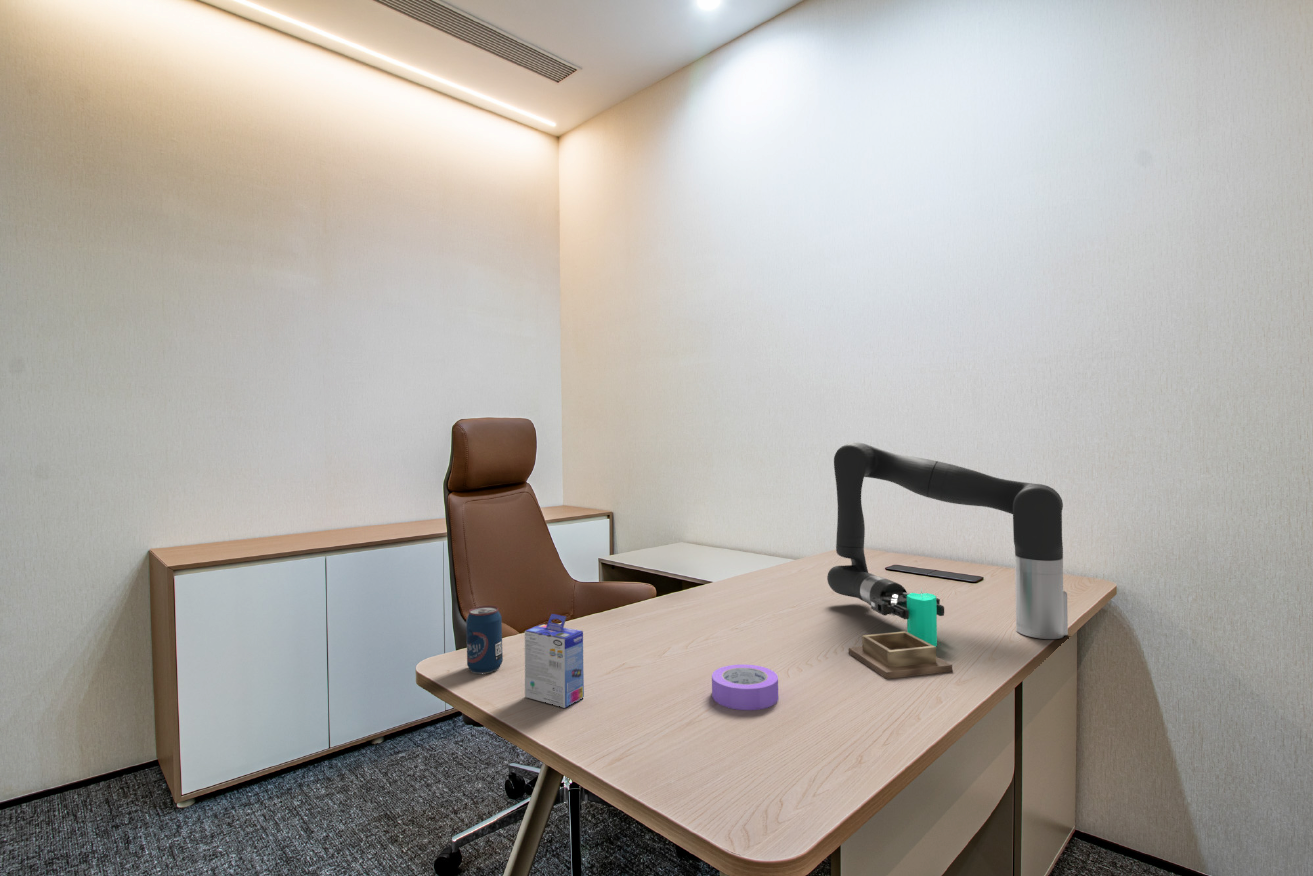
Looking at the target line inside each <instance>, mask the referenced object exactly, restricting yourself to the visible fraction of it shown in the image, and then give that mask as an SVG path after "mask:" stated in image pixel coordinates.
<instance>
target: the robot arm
mask: <svg viewBox="0 0 1313 876" xmlns="http://www.w3.org/2000/svg"><path fill="white" fill-rule="evenodd" d="M833 467H834V468H833V469H834V476H835V485H836V486H835V487H836V500H837V524H836V525H837V526H836V541H835V543H836V544H835V550H836V551H835V552H836V554H837V555H838V556H840V557H842V558H844V559H850V563H851V564H850V565H847V564H846V565H845V564H844V565H835V566H832V567H831V568H830V569H829V571H828V573H827V576H826V578H827V583H828V586H829V587H830V589H831V590H832V591H833V592H835V593H836V594H838V595H842V596H845V597H851V598H857V599H859V600H861V601H862V602H864V603H866V604H867V605H869V606H870V609H871V610H873V611H875V612H876V613H878V614H879V615H882V616H884V617H885V616H893V617H894V616H897V617H898V618H901V619H903V620H907V619H909V611H908V609H907V595H908V594H910V593H911V592H908V591H907V590H906V588H905V587H904V586H903V585H901V584H900V583H898V582H895V581H893V580H891V579H888V578H885V577H883V576H880V575H879V576H877V575H875V574H872V573H870V572H869V570H868V565H867V561H866V556H865V555H866V554H865V550H864V549H865V531H866V529H865V528H866V526H865V518H864V512H863V505H862V491H863V490H862V489H863V483H864V480H865V478H870V479H877V480H881V481H886V482H890V483H894V484H896V485H898V486H900V487H901V488H904V489H906V490H908V491H910V492H912V493H914V494H916V495H920V496H922V497H925V498H927V499H933V500H935V501H940V502H943V503H944V502H945V503H948V504H954V505H955V504H956V505H962V506H972V507H984V508H990V509H995V510H997V511H1001V512H1005V513H1007V514H1010V515H1012V530H1013V544H1014V554H1015V555H1014V568H1015V569H1014V570H1015V571H1014V577H1015V580H1014V581H1015V626H1016V627H1015V628H1016V629H1015V630H1016V632H1018V633H1019V634H1020V635H1023V636H1026V637H1029V638H1030V637H1031V638H1036V639H1040V640H1041V639H1043V640H1044V639H1045V640H1057V639H1058V640H1059V639H1062V638H1064V636H1068V634H1069V629H1068V628H1069V627H1068V626H1069V625H1068V621H1069V620H1068V616H1069V615H1068V593H1067V591H1065V590H1064V546H1063V515H1062V514H1063V507H1064V503H1063V499H1062V497H1061V495H1060V494H1059V493H1058V491H1056V490H1055V489H1054V488H1053V487H1050V486H1049V485H1045V484H1042V483H1032V482H1023V481H1016V480H1009V479H1004V478H999V477H995V476H992V475H988V474H986V473H984V472H983V473H982V472H980V471H976V470H973V469H969V468H966V467H964V466H963V467H962V466H958V465H955V464H952V463H947V462H943V461H938V460H933V459H929V458H927V459H926V458H923V457H915V456H908V455H901V454H896V453H893V452H890V451H887V450H884V449H880V448H877V447H875V446H872V445H869V444H866V443H863V442H852V443H847V444H845V445H842V446H840V447H839V448H838V449H837V450H836V451H835V454H834V456H833ZM923 593H924V592H922V594H923ZM919 594H921V592H920V593H919ZM940 602H941V599H940V598H938V597H936V604H937V616H939V617H944V616H945V606H944V605H942V604H941V603H940Z"/></svg>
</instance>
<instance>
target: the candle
mask: <svg viewBox="0 0 1313 876" xmlns="http://www.w3.org/2000/svg"><path fill="white" fill-rule="evenodd" d="M909 593H910V594H908V595H907V609H908V611H909V619H906V626H907V627H906V629H907V631H906V632H908V633H910V634H912V635H914V636H916V637H918V638H919V639H921V640H923V641H925V642H927V643H929V644H931V645H933V646H935V647H936V646H938V618H937V617H938V615H937V604H936V598H937V596H936V595H935V594H933V593H927V592H923V589H922V588H920V593H921V594H920V593H917V592H909ZM922 593H923V594H922ZM936 648H937V647H936Z"/></svg>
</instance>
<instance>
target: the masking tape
mask: <svg viewBox="0 0 1313 876" xmlns="http://www.w3.org/2000/svg"><path fill="white" fill-rule="evenodd" d="M711 695H712V696H711V697H712V699H713V700H714V702H716V703H717V704H718V705H720V706H723V707H725V708H728V709H732V710H738V711H757V710H764V709H767V708H770V707H772V706H774V705H775V704H776V703H777V702H778V700H779V676H778V674H777V673H776V672H775V671H774V670H772V669H771V668H767V667H764V666H761V665H755V664H742V663H741V664H732V665H731V664H730V665H726V666H721V667H719V668H717V669H716V670H714V671H713V672H712V673H711Z"/></svg>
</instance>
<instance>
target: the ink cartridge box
mask: <svg viewBox="0 0 1313 876" xmlns="http://www.w3.org/2000/svg"><path fill="white" fill-rule="evenodd" d="M566 619H567V616H564V615H560V614H554V613H551V615H550V616H549V619H548V621H547V624H538V625H536V626H533V627H531V628H528V629H527V630H525V631H524V697H525V698H527V699H530V700H535V701H538V702H541V703H545V702H546V704H550V705H552V704H553V706H557V707H559V706H560V707H559V708H564V709H566V708H567V707H569V705H570V706H571V704H572V705H574V704H575V703H574V702H576V703H577V701H578V700H580V699H581V698H583V697H584V698H585V684H584V683H585V679H584V675H585V674H584V631H583V630H579V629H575V628H568V627H565V624H566V621H567V620H566ZM553 620H559V621H561V623H560V624H559V623H555V622H552V621H553ZM580 701H581V700H580ZM578 702H579V701H578ZM573 703H574V704H573Z"/></svg>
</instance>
